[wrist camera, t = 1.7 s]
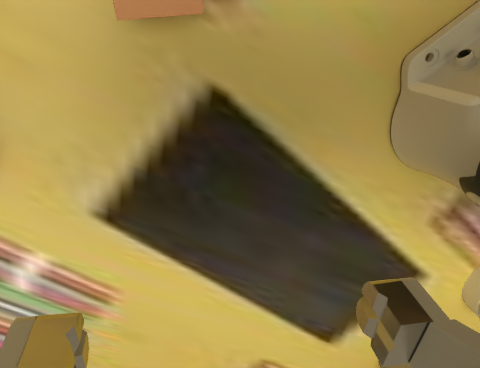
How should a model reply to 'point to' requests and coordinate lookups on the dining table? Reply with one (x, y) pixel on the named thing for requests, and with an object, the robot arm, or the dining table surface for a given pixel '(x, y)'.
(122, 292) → the dining table surface
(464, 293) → the honey pot
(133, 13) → the domino
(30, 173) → the dining table surface
